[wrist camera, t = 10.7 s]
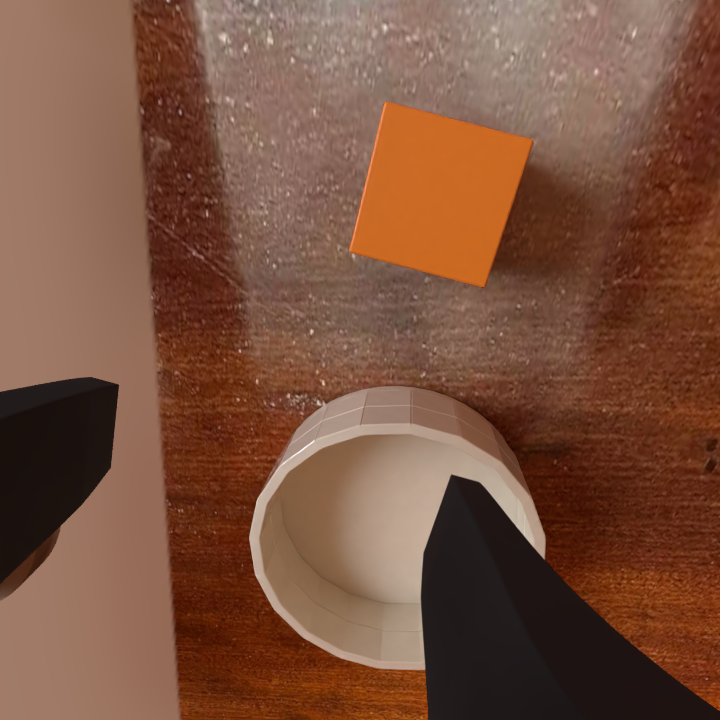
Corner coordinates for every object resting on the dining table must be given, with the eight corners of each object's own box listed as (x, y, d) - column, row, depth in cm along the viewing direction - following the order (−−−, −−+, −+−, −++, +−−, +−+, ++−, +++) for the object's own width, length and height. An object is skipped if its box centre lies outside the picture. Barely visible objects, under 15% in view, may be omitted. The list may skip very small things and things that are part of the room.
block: (361, 239, 18) (348, 252, 15) (390, 120, 17) (384, 100, 13) (470, 268, 18) (484, 288, 15) (507, 151, 17) (534, 139, 13)
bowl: (255, 566, 23) (229, 628, 20) (302, 355, 20) (280, 388, 17) (477, 627, 23) (488, 699, 20) (562, 425, 20) (593, 472, 17)
